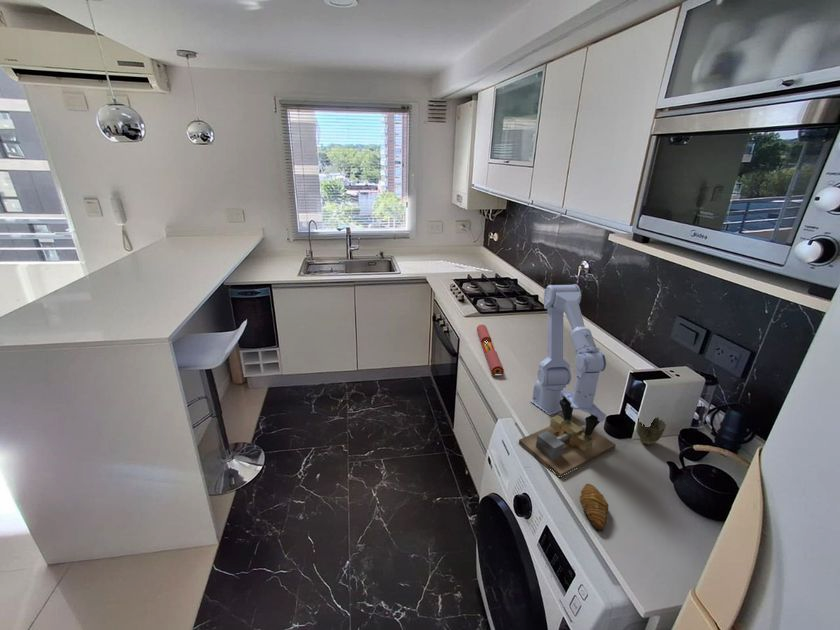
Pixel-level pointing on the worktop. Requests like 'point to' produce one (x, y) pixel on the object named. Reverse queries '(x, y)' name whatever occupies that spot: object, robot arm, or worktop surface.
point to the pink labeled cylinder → (489, 351)
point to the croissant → (594, 506)
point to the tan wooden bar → (572, 432)
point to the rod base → (564, 448)
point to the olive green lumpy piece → (651, 431)
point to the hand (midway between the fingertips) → (577, 427)
